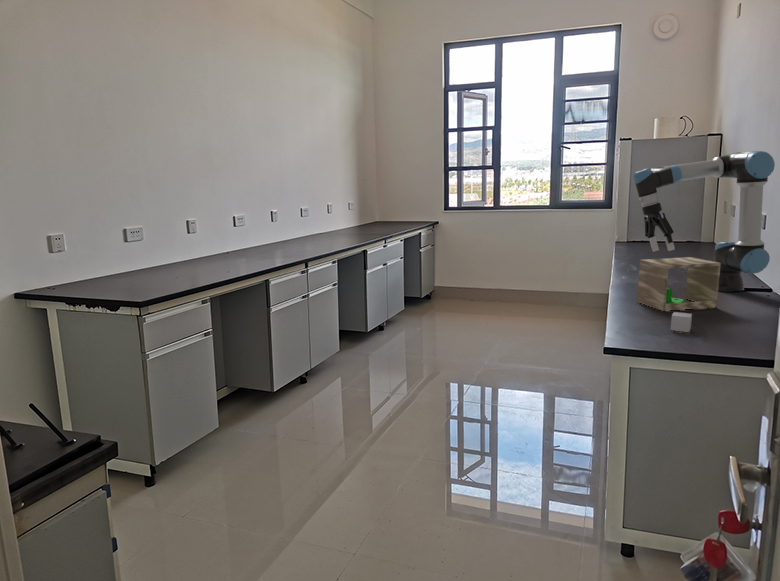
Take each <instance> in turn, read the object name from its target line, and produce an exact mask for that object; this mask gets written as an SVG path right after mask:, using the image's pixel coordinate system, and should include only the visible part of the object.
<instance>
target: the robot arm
mask: <svg viewBox="0 0 780 581" xmlns="http://www.w3.org/2000/svg"><path fill="white" fill-rule="evenodd" d="M774 170H775V160H774V157H773V156H772V154H770V153H769V152H766V151H762V150H752V151H739V152H733V153H731V154H726V155H721V156H715V157H713V158H712V159H710V160H702V161H696V162H689V163H688V162H687V163H680V164H674V165H673V164H672V165H666V166H661V167H660V166H659V167H651V168H649V167H648V168H644V169H641V170H639V171H635V172H634V174H632V175H633V180H634V185H635V187H636V191H637V195H638V198H639V202H640V205H641V207H642V208H641V209H642V214H643V215H644V216H643V219H644V235H645V238H648V240H649V243H650V247H651V250H652V252H654V253H655V252H659V251H660V248H659V245H658V241H657V237H656V234H655V231H656V227H658V229H659V230H661V232H662V233H663V238H664V241H665V245H666V248H667V252H671V251H674V250H675V249H676V248H675V247H676V246H675V244H674V240H673V238H672V235H673V234H674V233H675V232H674V230H673V228H672V226H671V225H670V222H669V220H668V219H667V217H666V214H665V213H664V212H662V213H660V212H661V211H662V210H663V207H662V205H661V203H660V201H661V200H660V197H659V194H658V193H659V192H658V191H657V189H659V188H662V187H666V186H669V185H674V184H676V183H678V182H682V181H690V180H696V179H698V180H699V179H704V178H711V177H713V178H714V179H718V178H719V179H720V178H728V179H729V178H731V179H732V178H733V179H736V184H737V186H739V187H740V189H739V190H740V193H739V211H738V212H739V216H738V238H737V240H736V241H729V242H728V241H727V242H725V241H724V242H717V243H716V244H715V248H714V258H713V261H714V262H719V263H721V265H720V275H719V286H718V292H724V293H725V292H727V293H734V292H733V291H740V292H743V291H744V290H745V285H744V282H743V278H742V273H745V274H752V275H753V274H754V275H755V274H759V273H760V272H761V273H762V271H764V270H765V269H766V268H767V267H768V265H769V264H770V263H769V262H770V258H771V257H770V254H769V252H768V251H767V250H766V249H765V242H764V241H763V240H762V239H761V238H762V237H761V235H762V218H763V217H762V215H763V200H764V198H763V195H764V186H765V185H766V184H767V183H768V179H769V178H768V177H769V176H771V175H772V173H774ZM743 289H744V290H743ZM742 290H743V291H742Z"/></svg>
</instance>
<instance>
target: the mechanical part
mask: <svg viewBox="0 0 780 581" xmlns="http://www.w3.org/2000/svg"><path fill="white" fill-rule="evenodd" d="M672 294H673V290H672V288H671V287H667V292H666V304H671V303H685V302H684V299H682V298H679V297H677V298H676V297H673V295H672Z"/></svg>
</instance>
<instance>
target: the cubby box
mask: <svg viewBox="0 0 780 581" xmlns="http://www.w3.org/2000/svg"><path fill="white" fill-rule="evenodd" d="M720 265H721V263H719V262H714V260H713V261H712V260H707V259H702V258H697V257H693V256H692V257H691V256H686V257H685V256H684V257H683V256H682V257H671V258H670V257H669V258H667V257H666V258H651V259H649V258H647V259H639V265H638V279H637V280H638V284H637V297H636V303H637V302H638V304H640V303H642V304H641V305H643V304H645V305H647V306H646V307H648V306H650V307H649V308H651V307H653V308H652V309H654V308H656V309H655V310H657V309H658V310H657V311H659V310H661V311H660V312H662V311H666V312H671V311H670V310H680V311H686V310H685V309H694V310H705V309H706V310H707V308H709V309H716V308H717V305H718V297H719V291H718V286H719V275H720ZM685 268H687V278H686V288H685V300H686V299H688V300H687V301H688V302H683V303H671V304H666V292H667V288H668V276H669V269H672V270H673V269H685ZM689 300H691V301H690V302H689ZM693 301H694V302H693ZM645 305H644V306H645Z"/></svg>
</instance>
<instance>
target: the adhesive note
mask: <svg viewBox="0 0 780 581" xmlns="http://www.w3.org/2000/svg"><path fill="white" fill-rule="evenodd" d="M692 318H693V313H687V312H678V311H673V313H672V314H671V320H670V321H671V322H670V331H671V330H676V331H684V332H689V331H690V332H691V330H692V328H691V327H692ZM690 329H691V330H690ZM690 332H689V333H690Z"/></svg>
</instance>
